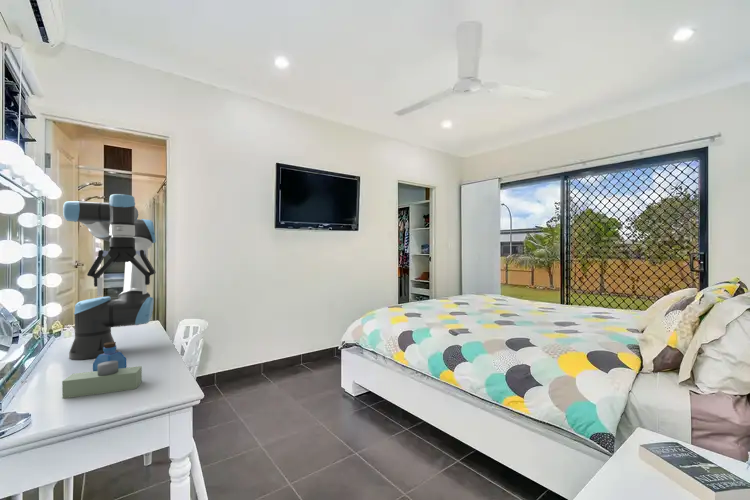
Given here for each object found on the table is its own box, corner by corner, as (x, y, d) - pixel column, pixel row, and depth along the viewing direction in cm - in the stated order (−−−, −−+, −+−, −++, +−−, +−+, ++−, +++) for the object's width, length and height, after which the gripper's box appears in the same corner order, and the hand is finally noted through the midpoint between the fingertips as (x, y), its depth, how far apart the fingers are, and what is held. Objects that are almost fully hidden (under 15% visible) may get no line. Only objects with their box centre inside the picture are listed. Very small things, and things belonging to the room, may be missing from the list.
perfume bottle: (108, 383, 109) (108, 346, 109) (92, 382, 110) (92, 345, 110) (126, 376, 115) (126, 341, 115) (111, 375, 116) (110, 340, 116)
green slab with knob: (84, 380, 113) (84, 356, 113) (148, 372, 119) (148, 350, 120) (62, 398, 99) (62, 370, 99) (136, 388, 106) (135, 362, 106)
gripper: (75, 236, 117) (75, 297, 117) (159, 236, 126) (160, 294, 126) (84, 237, 124) (84, 295, 124) (163, 237, 133) (164, 291, 133)
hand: (122, 294), depth 125 cm, fingers open, 13 cm apart
